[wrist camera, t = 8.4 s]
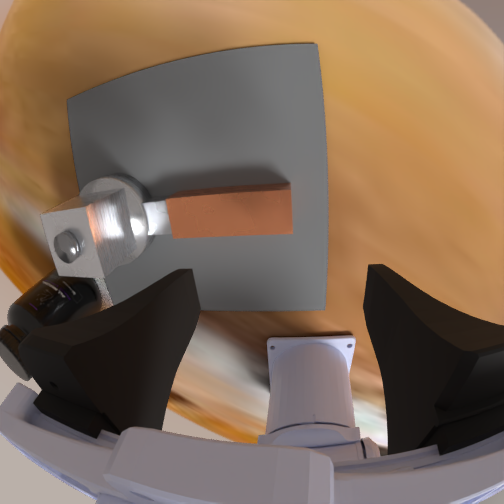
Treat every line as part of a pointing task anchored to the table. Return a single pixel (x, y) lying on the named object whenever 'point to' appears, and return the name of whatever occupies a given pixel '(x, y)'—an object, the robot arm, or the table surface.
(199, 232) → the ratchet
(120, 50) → the table surface
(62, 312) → the supplement bottle
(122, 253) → the socket
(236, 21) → the table surface
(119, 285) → the mat
